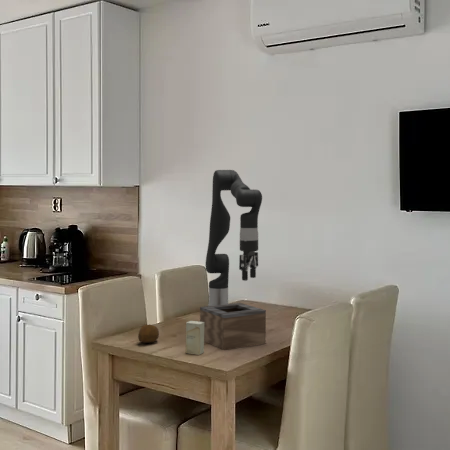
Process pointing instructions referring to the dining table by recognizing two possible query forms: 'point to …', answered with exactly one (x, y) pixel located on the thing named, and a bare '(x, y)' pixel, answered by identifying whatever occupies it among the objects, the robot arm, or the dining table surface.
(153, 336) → the potato
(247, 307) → the slot box
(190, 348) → the skincare box
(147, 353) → the dining table surface
